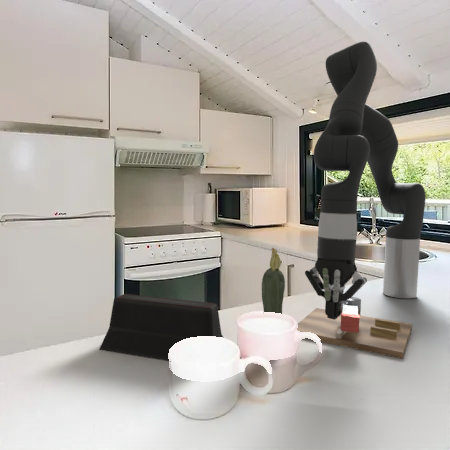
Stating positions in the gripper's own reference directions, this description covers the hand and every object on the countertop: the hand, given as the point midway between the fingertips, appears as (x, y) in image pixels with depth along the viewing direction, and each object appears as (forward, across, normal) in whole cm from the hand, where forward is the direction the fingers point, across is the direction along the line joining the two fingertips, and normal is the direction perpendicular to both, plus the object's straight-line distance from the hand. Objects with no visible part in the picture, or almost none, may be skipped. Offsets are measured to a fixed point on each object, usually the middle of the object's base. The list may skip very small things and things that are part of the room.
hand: (332, 318), depth 81 cm
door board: (+4, +2, +7) cm, 9 cm away
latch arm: (+1, +2, +4) cm, 4 cm away
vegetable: (+5, -6, -13) cm, 16 cm away
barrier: (+6, -23, -26) cm, 35 cm away
